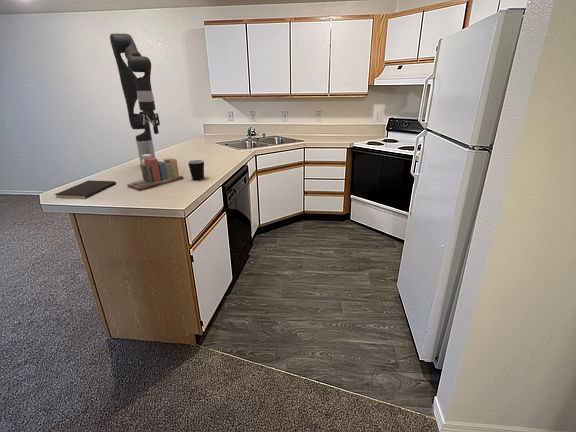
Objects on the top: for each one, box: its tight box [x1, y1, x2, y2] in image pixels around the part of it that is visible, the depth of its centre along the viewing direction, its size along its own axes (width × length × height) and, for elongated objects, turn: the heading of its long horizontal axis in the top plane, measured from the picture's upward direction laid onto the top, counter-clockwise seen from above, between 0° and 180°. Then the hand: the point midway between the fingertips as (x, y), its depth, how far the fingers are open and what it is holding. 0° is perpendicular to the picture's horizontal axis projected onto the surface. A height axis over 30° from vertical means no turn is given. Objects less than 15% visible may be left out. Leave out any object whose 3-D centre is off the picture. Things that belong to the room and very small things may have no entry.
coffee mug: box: [187, 159, 205, 182], centre depth 174 cm, size 12×9×10 cm
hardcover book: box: [54, 180, 117, 200], centre depth 157 cm, size 16×23×2 cm
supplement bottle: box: [142, 154, 151, 165], centre depth 177 cm, size 7×7×13 cm
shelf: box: [126, 157, 184, 192], centre depth 166 cm, size 12×26×11 cm, turn 143°
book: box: [144, 157, 161, 183], centre depth 165 cm, size 6×4×12 cm, turn 53°
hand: (152, 132), depth 163 cm, fingers open, 8 cm apart
